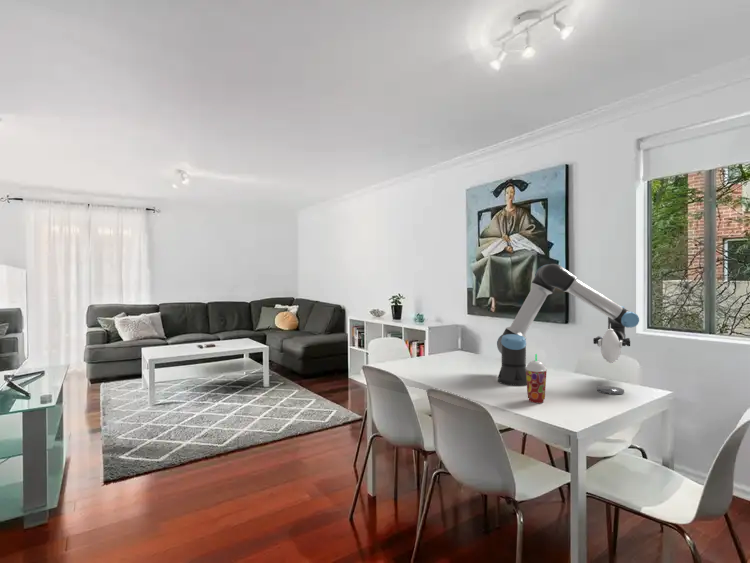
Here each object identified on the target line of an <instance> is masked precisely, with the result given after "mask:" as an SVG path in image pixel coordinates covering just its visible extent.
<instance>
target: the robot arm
mask: <svg viewBox="0 0 750 563" xmlns="http://www.w3.org/2000/svg"><path fill="white" fill-rule="evenodd" d="M531 286H532V287H531V290H530V291H529V293H528V295H527V297H526V298H525V300H524V301H523V303H522V305H521V307H520V309H519V310H518V312H517V313H516V315H515V318H514V320H513V321H512V323H511V325H510V326H508V327H505V329H504V331H503V332H502V334H501V335H500V336H499V337H498V339H497V341H496V346H497V347H496V348H497V350H498V351H499V353H500V354H501V367H500V370H499V373H498V376H497V382H498V383H500V384H503V385H507V386H516V387H517V386H518V387H521V386H527V380H526V367H527V350H526V348H527V337H526V335H527V332H528V330H529V329H530V327H531V325H532V324H533V322H534V321H535V319H536V317H537V315H538V313H539V311H540V310H541V307H542V306H543V304H544V302H545V301H546V299H547V297H548V296H549V295H552V294H553V293H554V291H555V289H558V290H560V291H561V292H563V293H565V292H566V293H569V294H571V295H572V296H574V297H576V298H577V299H578V300H580V301H582V302H584V303H585V304H586V305H588V306H590V307H592V308H593V309H595V310H596V311H598V312H600V313H602V315H605V316H606V317H607V329H610V324H611V329H613V330H614V332H615V333H616V335H617V337H618V339H619V348H621V349H622V348H623V347H630V346H631V340H630V338H629V337H627V338H626V328H627V329H628V328H634V327H637V326H638V325H639V323H640V317H639V315H638V314H637V313H635V312H633V311H630V310H628V309H627V308H626V307H625V306H623V305H619V304H618V303H616V302H615V301H613V300H611V299H610V298H608V297H606V295H604V294H602V293H600V292H599V291H597V290H595V289H594V288H592V287H591V286H589V285H587V284H586V283H584V282H583V281H582V280H579V279H577V276H576V275H575V274H573V273H571V271H569V270H568V269H566V268H564V267H563V266H561V265H559V264H558V263H550V264H548V263H547V264H544V265H542V266H540V267H538V268H537V270H536V271H535V273H534V278H533V280H532V282H531ZM602 339H603V336H601V335H598V336H597V337H594V338H593V342H592V343H593V344H594V345H597V347H599V348H601V342H602Z"/></svg>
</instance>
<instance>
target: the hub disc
mask: <svg viewBox="0 0 750 563" xmlns="http://www.w3.org/2000/svg"><path fill="white" fill-rule="evenodd" d="M596 391H597V392H599V393H600V394H601V393H602V394H606V395H617V396H618V395H624V394H625V390H624V389H623V388H622V387H617V386H611V385H598V386H596Z"/></svg>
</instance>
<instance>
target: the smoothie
mask: <svg viewBox="0 0 750 563" xmlns="http://www.w3.org/2000/svg"><path fill="white" fill-rule="evenodd" d="M534 355H535V357H534V358H535V359H534V360H532V361H529V363H528V364H526V380H527V385H526V390H527V391H526V394H527V399H528V401H529V402H531V403H534V404H542V403H543V402H544V400H546V387H547V385H546V383H547V370H548V369H547V368H546V366H545V364H544V363H543V362H541V361H540V360H538V354H537V353H536V354H534Z"/></svg>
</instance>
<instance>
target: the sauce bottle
mask: <svg viewBox="0 0 750 563" xmlns="http://www.w3.org/2000/svg"><path fill="white" fill-rule="evenodd" d="M602 338H603V339H602V342H601V346H600V352H601V356H602V357H603V359H604V360H605V361H606V362H608V363H610V364H612V363H615V362H616V361H619V358H620V356H621V349H622V348H619V339H618V337H617V335H616V333H615V332H614V330H613V329H611V324H610V329H608V328H607V330H606V331H605V332H604V334H603V336H602Z"/></svg>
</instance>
